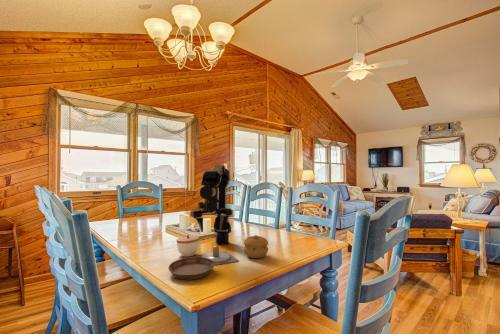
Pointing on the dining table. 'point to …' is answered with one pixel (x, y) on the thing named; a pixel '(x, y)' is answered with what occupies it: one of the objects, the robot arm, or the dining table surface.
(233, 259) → the mat
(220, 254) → the lid
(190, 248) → the lidded jar
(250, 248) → the pot
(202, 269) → the plant saucer
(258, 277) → the dining table surface
